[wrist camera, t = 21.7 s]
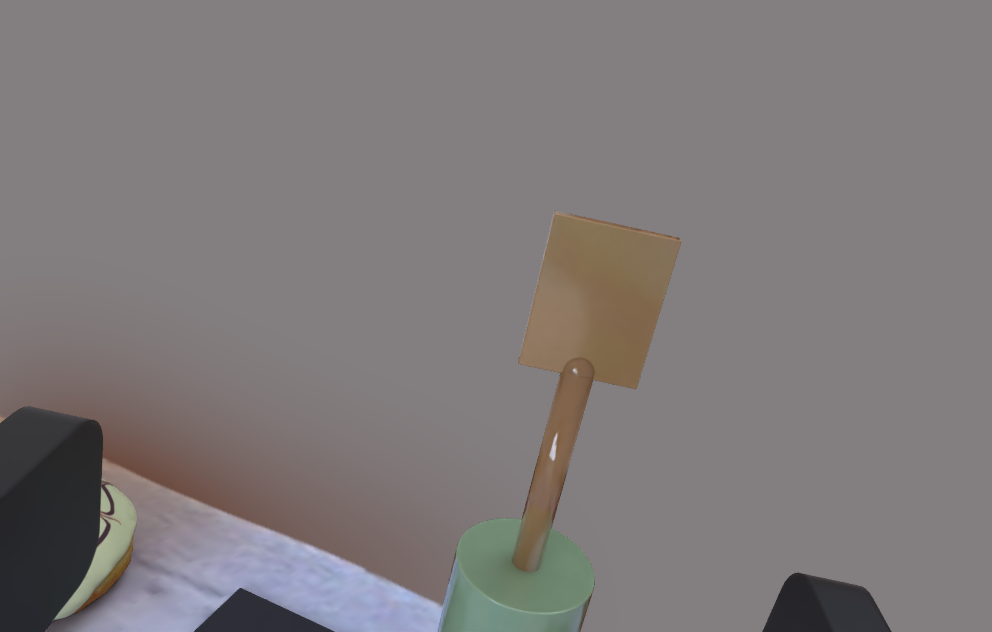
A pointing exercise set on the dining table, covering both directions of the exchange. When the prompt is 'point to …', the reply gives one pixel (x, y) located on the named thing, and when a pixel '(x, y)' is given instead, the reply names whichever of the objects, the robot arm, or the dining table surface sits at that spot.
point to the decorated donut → (106, 549)
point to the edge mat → (256, 617)
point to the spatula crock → (562, 422)
